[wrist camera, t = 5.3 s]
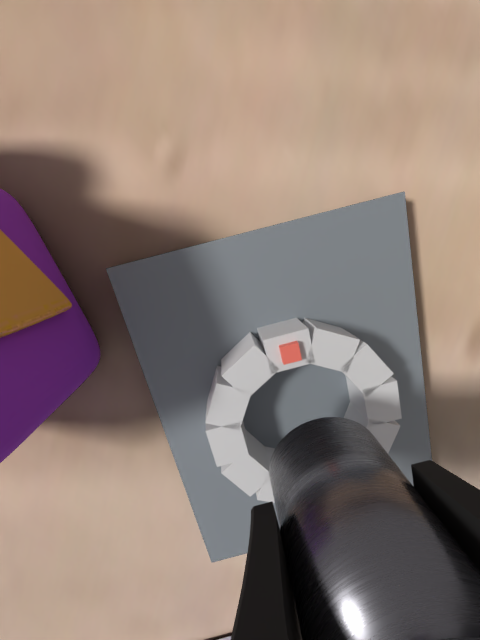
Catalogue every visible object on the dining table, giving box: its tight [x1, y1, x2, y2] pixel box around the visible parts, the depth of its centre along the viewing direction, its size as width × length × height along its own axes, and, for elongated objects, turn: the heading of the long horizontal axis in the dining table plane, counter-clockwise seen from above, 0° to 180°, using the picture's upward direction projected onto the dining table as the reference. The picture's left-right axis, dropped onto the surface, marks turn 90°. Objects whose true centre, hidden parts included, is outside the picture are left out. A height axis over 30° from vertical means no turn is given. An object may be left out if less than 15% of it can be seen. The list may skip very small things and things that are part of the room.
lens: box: [269, 417, 480, 640], centre depth 8 cm, size 4×4×6 cm
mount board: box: [106, 192, 432, 562], centre depth 15 cm, size 18×14×4 cm
